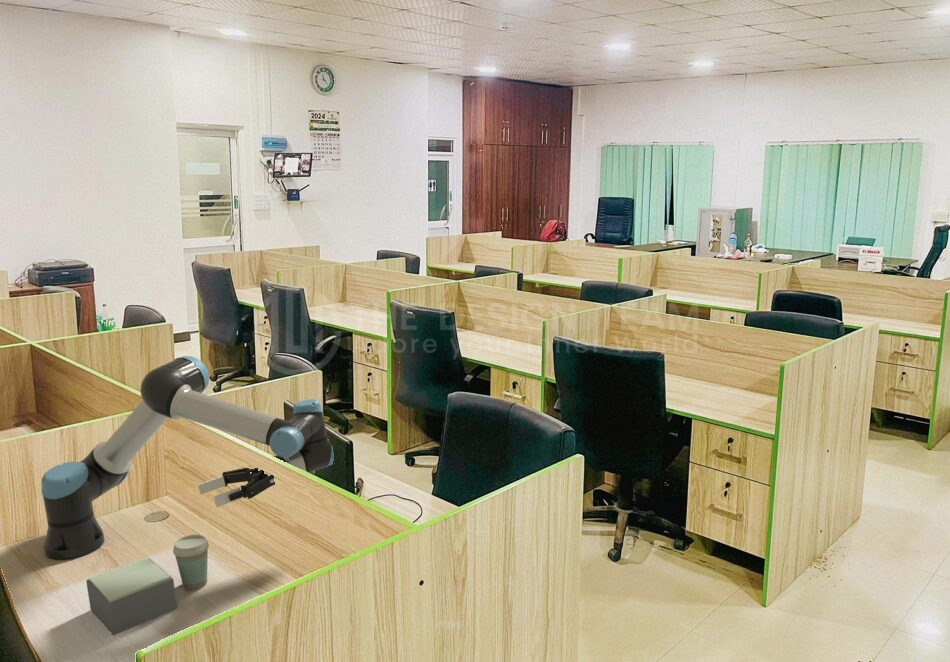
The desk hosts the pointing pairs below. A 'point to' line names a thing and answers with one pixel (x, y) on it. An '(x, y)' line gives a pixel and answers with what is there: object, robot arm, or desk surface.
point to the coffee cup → (192, 560)
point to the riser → (131, 594)
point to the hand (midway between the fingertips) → (207, 495)
